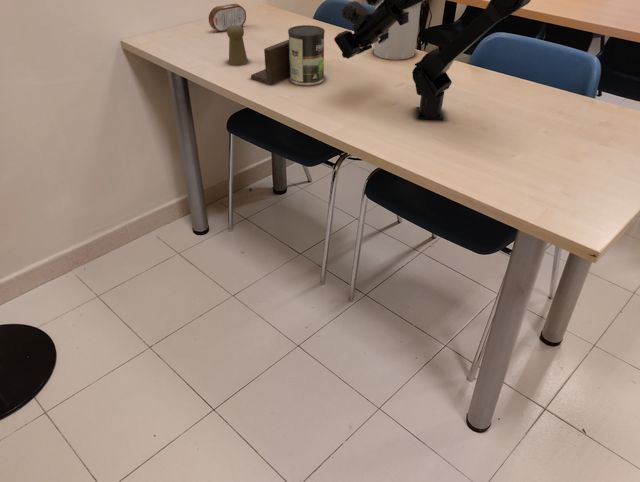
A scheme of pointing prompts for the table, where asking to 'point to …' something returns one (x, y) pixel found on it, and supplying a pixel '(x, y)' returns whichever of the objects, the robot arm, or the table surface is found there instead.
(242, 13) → the tin
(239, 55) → the olive green pawn
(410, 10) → the utensil holder
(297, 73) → the coffee can
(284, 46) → the walnut bookend
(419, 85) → the robot arm
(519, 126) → the table surface
